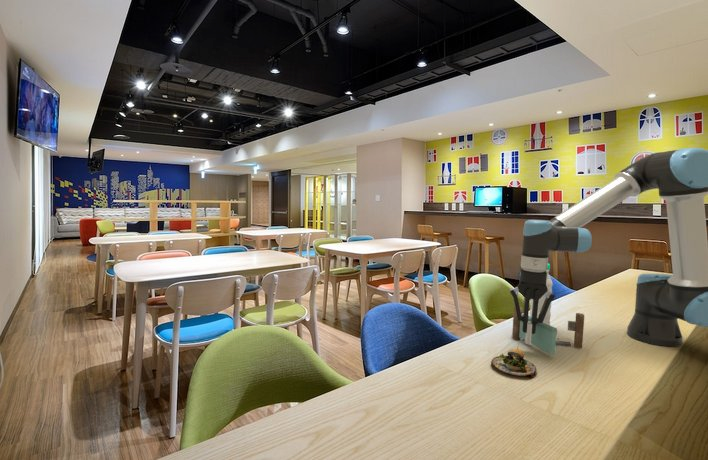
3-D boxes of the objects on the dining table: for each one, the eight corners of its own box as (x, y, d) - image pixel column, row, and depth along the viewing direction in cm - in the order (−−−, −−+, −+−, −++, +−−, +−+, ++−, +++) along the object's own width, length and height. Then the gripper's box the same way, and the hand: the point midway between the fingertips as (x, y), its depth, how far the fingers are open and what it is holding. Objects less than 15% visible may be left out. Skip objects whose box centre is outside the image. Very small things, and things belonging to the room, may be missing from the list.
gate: (518, 337, 125) (520, 314, 124) (523, 336, 126) (524, 314, 125) (550, 354, 111) (552, 329, 111) (555, 354, 112) (557, 328, 111)
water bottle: (552, 332, 134) (556, 265, 131) (531, 331, 135) (535, 264, 133) (546, 326, 141) (550, 261, 138) (526, 324, 142) (530, 260, 140)
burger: (482, 364, 108) (483, 340, 107) (512, 358, 113) (513, 334, 112) (514, 384, 97) (516, 357, 96) (546, 376, 102) (548, 350, 101)
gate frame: (579, 343, 124) (581, 311, 123) (582, 348, 120) (584, 315, 119) (511, 335, 131) (513, 305, 130) (512, 339, 127) (514, 308, 126)
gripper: (512, 269, 113) (506, 343, 115) (559, 274, 108) (552, 350, 111) (510, 265, 120) (505, 335, 122) (554, 269, 116) (548, 341, 118)
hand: (527, 342), depth 116 cm, fingers closed
